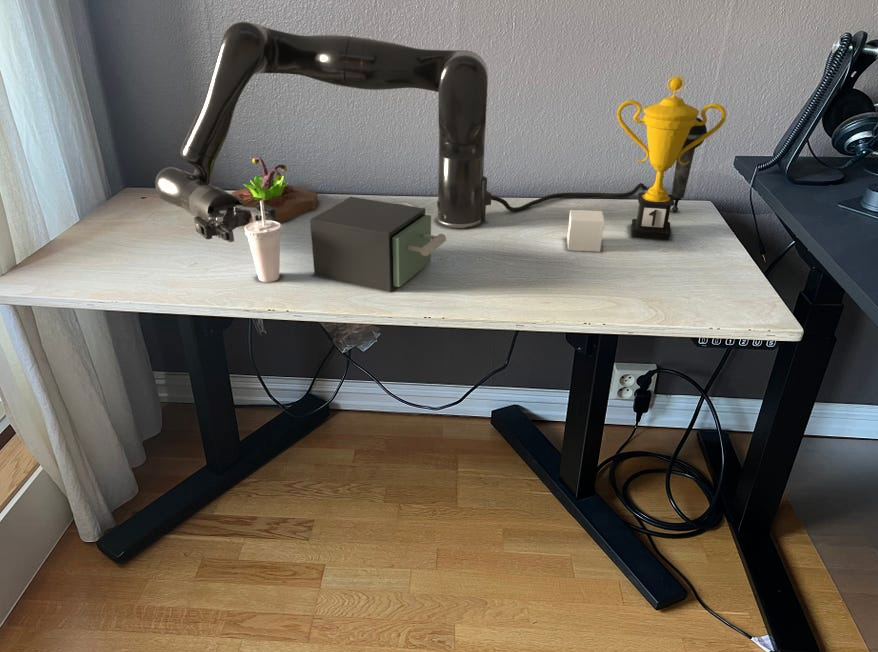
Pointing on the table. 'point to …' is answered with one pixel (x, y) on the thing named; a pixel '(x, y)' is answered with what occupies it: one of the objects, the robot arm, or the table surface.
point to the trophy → (664, 154)
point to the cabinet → (359, 240)
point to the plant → (276, 194)
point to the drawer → (413, 249)
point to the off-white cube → (585, 230)
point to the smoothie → (265, 246)
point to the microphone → (684, 170)
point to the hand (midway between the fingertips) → (253, 231)
